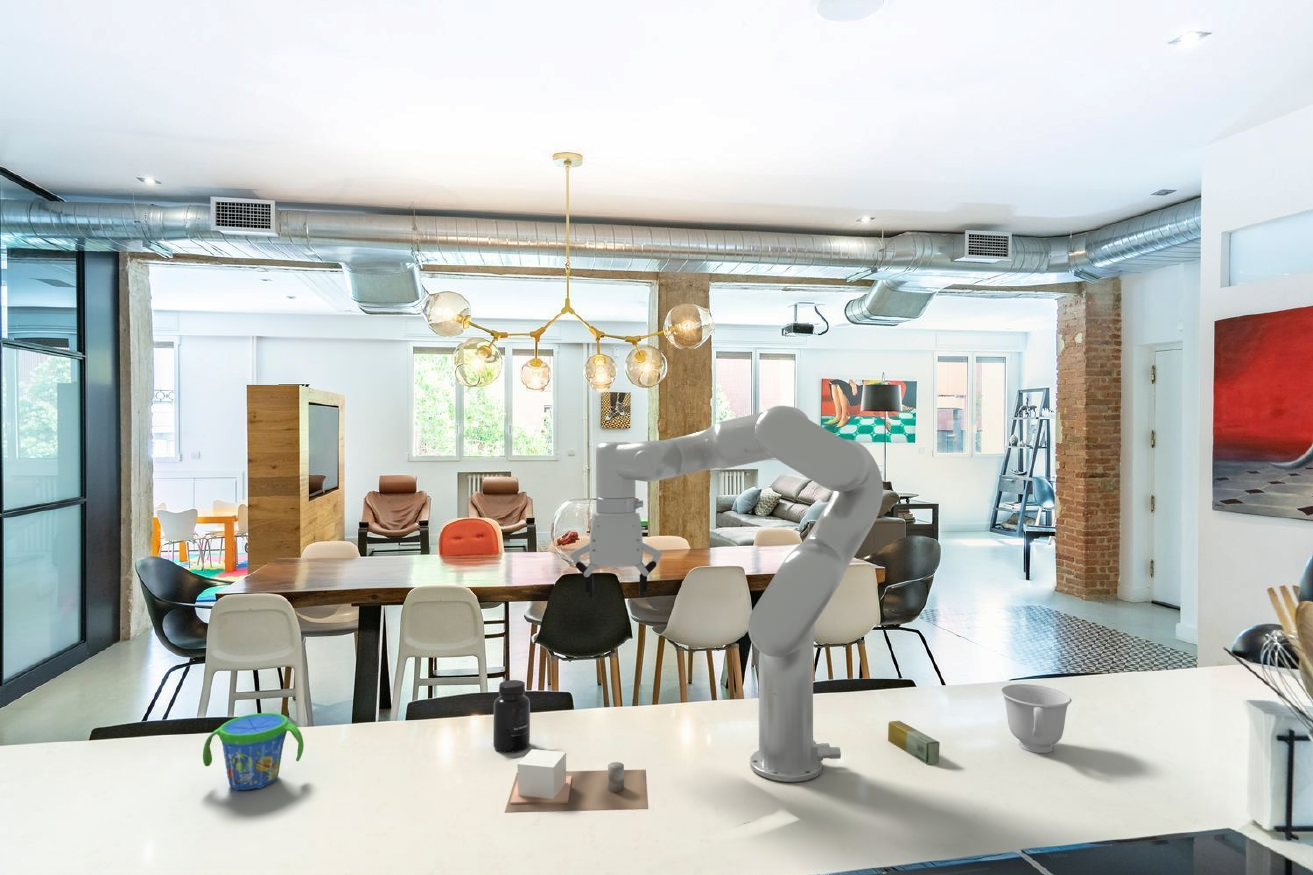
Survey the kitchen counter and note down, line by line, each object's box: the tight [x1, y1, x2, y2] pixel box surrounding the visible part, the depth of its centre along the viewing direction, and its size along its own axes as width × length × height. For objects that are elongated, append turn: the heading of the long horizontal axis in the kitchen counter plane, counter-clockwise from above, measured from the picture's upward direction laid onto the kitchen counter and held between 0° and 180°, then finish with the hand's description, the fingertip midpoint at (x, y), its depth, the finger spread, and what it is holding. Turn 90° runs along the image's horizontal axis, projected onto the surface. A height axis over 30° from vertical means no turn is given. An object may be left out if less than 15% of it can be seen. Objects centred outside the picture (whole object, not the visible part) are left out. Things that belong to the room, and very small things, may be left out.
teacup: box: [1000, 683, 1073, 754], centre depth 146 cm, size 12×15×10 cm
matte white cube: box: [517, 748, 567, 799], centre depth 128 cm, size 6×6×5 cm
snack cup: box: [202, 712, 305, 791], centre depth 134 cm, size 16×10×10 cm
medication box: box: [887, 720, 941, 766], centre depth 146 cm, size 12×3×4 cm, turn 20°
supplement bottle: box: [492, 679, 531, 754], centre depth 149 cm, size 7×7×12 cm
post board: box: [504, 761, 649, 813], centre depth 128 cm, size 22×14×5 cm, turn 92°
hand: (616, 596), depth 150 cm, fingers open, 9 cm apart
